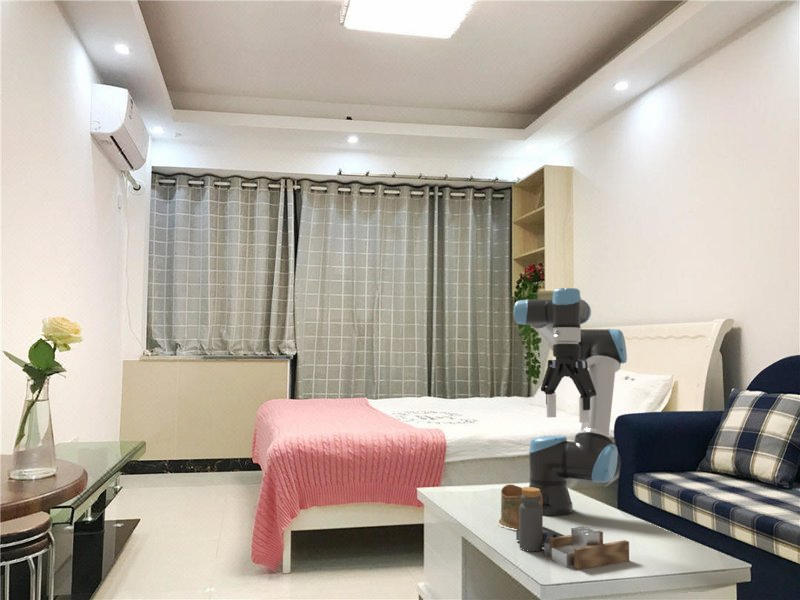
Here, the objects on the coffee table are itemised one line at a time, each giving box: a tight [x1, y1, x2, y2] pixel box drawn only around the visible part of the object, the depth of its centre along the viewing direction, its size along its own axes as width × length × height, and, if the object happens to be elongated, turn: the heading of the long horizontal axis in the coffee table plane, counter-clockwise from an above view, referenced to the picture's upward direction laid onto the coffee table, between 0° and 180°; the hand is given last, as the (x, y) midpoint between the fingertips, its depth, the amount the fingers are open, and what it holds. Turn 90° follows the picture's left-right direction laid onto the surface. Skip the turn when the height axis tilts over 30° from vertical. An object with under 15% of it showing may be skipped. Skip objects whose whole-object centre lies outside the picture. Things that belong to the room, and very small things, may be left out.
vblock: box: [515, 526, 566, 557], centre depth 160 cm, size 9×14×3 cm, turn 25°
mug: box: [498, 484, 543, 529], centre depth 177 cm, size 12×18×12 cm, turn 22°
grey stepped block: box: [551, 526, 600, 568], centre depth 149 cm, size 10×6×7 cm, turn 114°
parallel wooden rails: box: [549, 530, 630, 570], centre depth 151 cm, size 16×10×4 cm, turn 115°
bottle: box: [518, 486, 544, 552], centre depth 159 cm, size 6×6×15 cm
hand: (567, 419), depth 171 cm, fingers open, 13 cm apart
